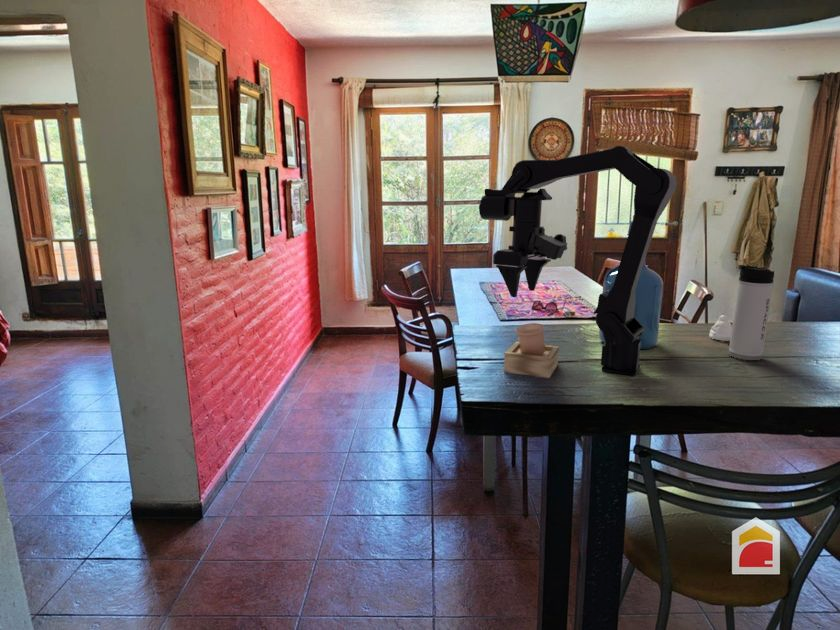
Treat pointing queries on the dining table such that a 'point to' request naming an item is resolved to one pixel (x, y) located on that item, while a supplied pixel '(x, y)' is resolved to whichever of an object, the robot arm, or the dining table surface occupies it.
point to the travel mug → (751, 313)
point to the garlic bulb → (721, 329)
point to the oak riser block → (531, 361)
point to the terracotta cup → (531, 339)
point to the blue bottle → (643, 302)
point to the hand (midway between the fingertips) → (522, 293)
